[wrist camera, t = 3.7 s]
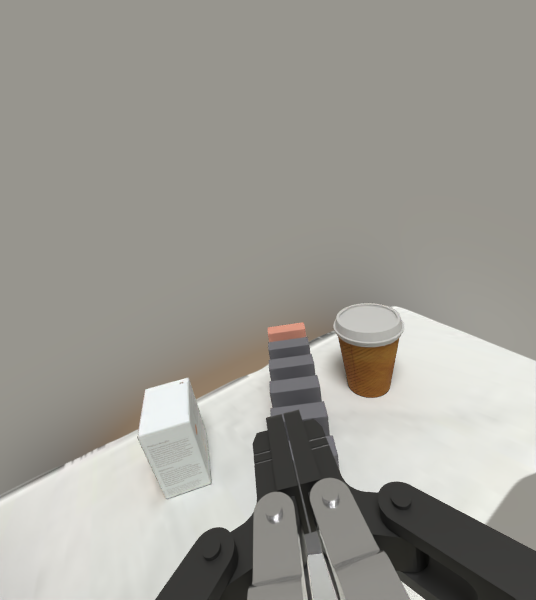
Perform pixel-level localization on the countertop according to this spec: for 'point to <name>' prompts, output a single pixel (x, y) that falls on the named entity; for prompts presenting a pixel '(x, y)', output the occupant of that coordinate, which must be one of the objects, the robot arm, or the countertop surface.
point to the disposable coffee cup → (369, 346)
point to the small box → (174, 438)
